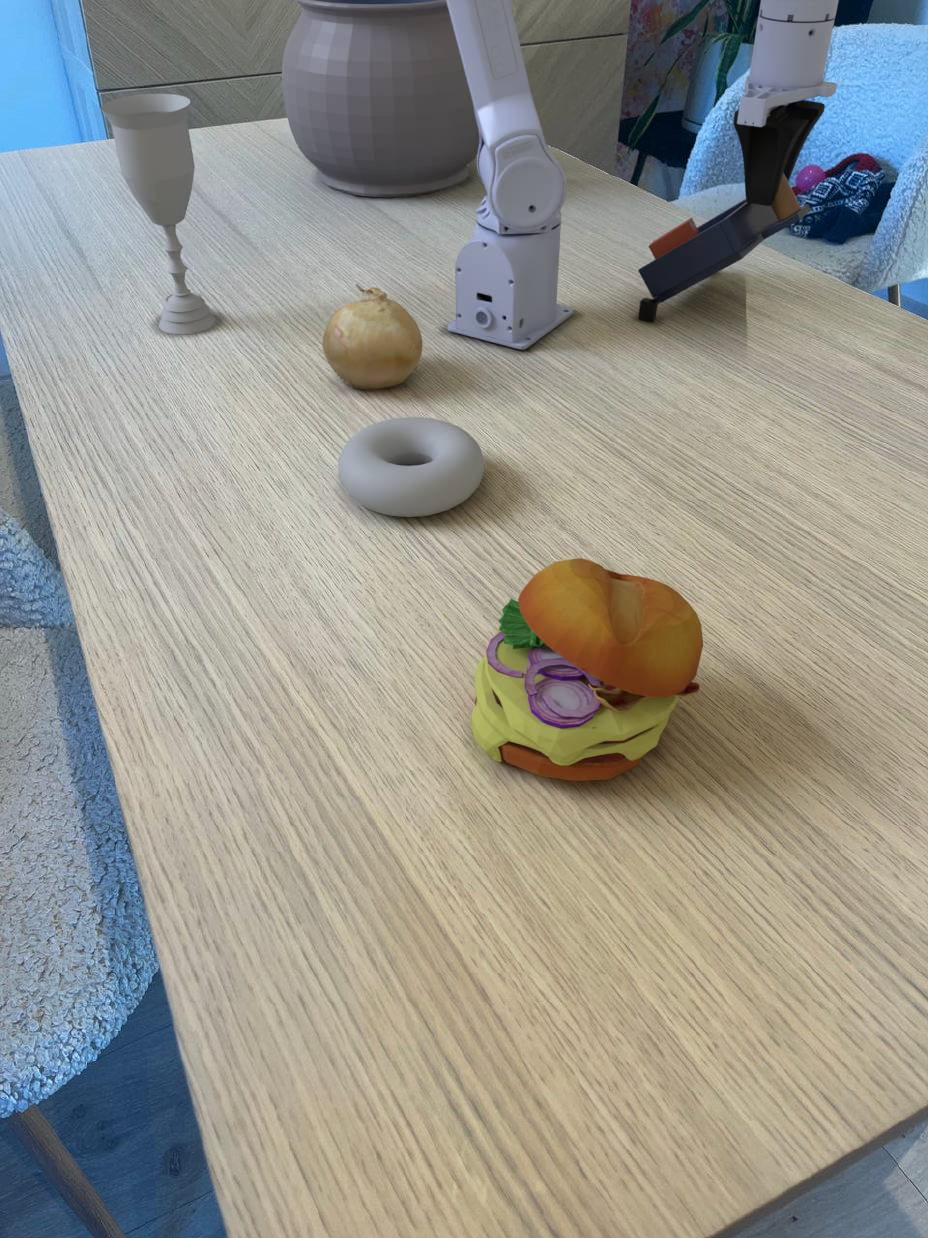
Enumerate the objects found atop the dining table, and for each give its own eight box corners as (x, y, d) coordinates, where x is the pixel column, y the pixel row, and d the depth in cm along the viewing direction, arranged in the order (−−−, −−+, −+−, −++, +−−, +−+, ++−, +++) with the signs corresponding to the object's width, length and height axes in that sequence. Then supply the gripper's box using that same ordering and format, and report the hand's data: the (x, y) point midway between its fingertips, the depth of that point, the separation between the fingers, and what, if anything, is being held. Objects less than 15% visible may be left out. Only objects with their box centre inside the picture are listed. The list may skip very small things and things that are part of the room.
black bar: (698, 270, 100) (700, 252, 99) (711, 272, 100) (714, 254, 99) (637, 319, 91) (639, 300, 90) (652, 322, 91) (654, 303, 90)
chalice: (206, 342, 88) (166, 117, 76) (134, 336, 89) (84, 113, 78) (237, 309, 94) (204, 95, 82) (169, 303, 95) (127, 91, 83)
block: (709, 261, 91) (688, 221, 90) (669, 285, 93) (648, 246, 92) (711, 256, 94) (691, 217, 93) (673, 279, 96) (653, 241, 95)
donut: (309, 496, 69) (423, 544, 64) (303, 451, 67) (420, 498, 62) (403, 437, 75) (513, 477, 70) (400, 395, 73) (513, 433, 68)
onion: (443, 379, 82) (441, 294, 78) (365, 410, 78) (358, 323, 74) (383, 348, 87) (378, 266, 82) (306, 376, 83) (297, 291, 78)
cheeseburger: (429, 688, 54) (468, 526, 49) (595, 670, 59) (647, 521, 53) (513, 824, 47) (570, 650, 41) (694, 791, 51) (767, 631, 46)
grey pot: (263, 164, 129) (240, -18, 117) (437, 138, 138) (433, -33, 126) (338, 221, 112) (321, 16, 100) (531, 187, 121) (538, -5, 109)
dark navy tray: (700, 268, 99) (677, 223, 98) (828, 197, 89) (804, 147, 88) (649, 310, 91) (624, 262, 90) (783, 237, 81) (756, 182, 80)
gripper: (818, 36, 71) (781, 231, 80) (874, 6, 81) (836, 184, 89) (723, 27, 74) (697, 216, 83) (788, -1, 84) (759, 172, 92)
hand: (764, 199), depth 86 cm, fingers closed on dark navy tray, 2 cm apart
